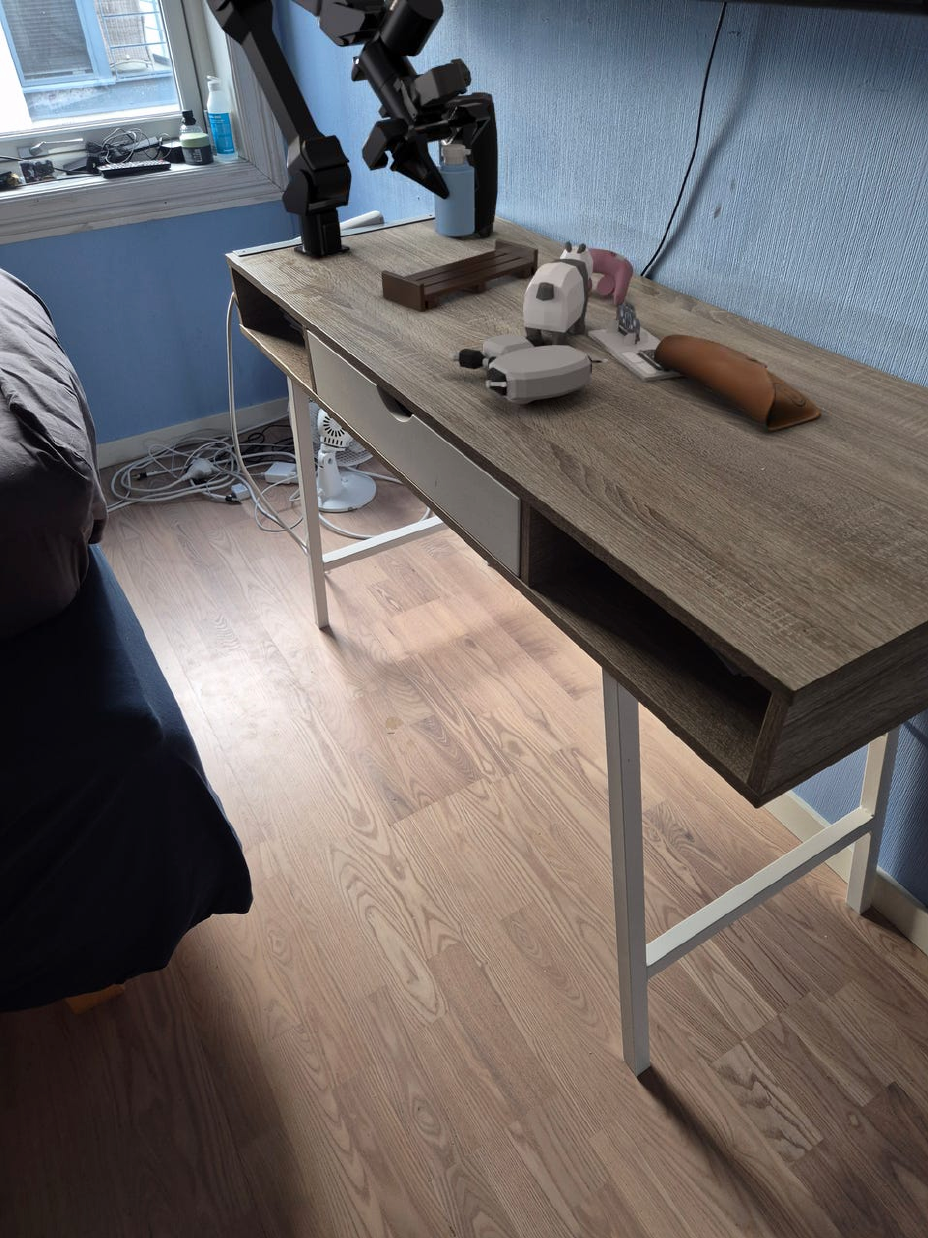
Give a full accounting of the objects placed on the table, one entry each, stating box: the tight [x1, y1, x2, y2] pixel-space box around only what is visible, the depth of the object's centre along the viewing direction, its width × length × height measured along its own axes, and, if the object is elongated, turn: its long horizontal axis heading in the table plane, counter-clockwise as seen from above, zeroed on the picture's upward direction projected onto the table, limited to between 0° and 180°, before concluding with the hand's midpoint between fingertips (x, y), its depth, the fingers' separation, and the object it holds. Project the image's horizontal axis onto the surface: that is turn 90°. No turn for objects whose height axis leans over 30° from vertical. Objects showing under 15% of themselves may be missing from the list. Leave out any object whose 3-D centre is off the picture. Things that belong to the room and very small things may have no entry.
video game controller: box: [587, 247, 634, 307], centre depth 115 cm, size 10×5×7 cm, turn 65°
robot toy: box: [448, 333, 609, 405], centre depth 93 cm, size 12×4×15 cm
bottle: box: [433, 144, 474, 237], centre depth 112 cm, size 5×5×10 cm
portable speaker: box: [438, 91, 499, 239], centre depth 136 cm, size 9×9×20 cm
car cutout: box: [587, 300, 684, 383], centre depth 100 cm, size 15×7×4 cm, turn 18°
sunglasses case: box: [654, 333, 822, 432], centre depth 90 cm, size 18×7×7 cm, turn 28°
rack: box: [380, 238, 539, 312], centre depth 120 cm, size 8×22×4 cm, turn 133°
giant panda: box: [522, 241, 594, 346], centre depth 104 cm, size 15×6×10 cm, turn 155°
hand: (461, 193), depth 111 cm, fingers closed on bottle, 5 cm apart
